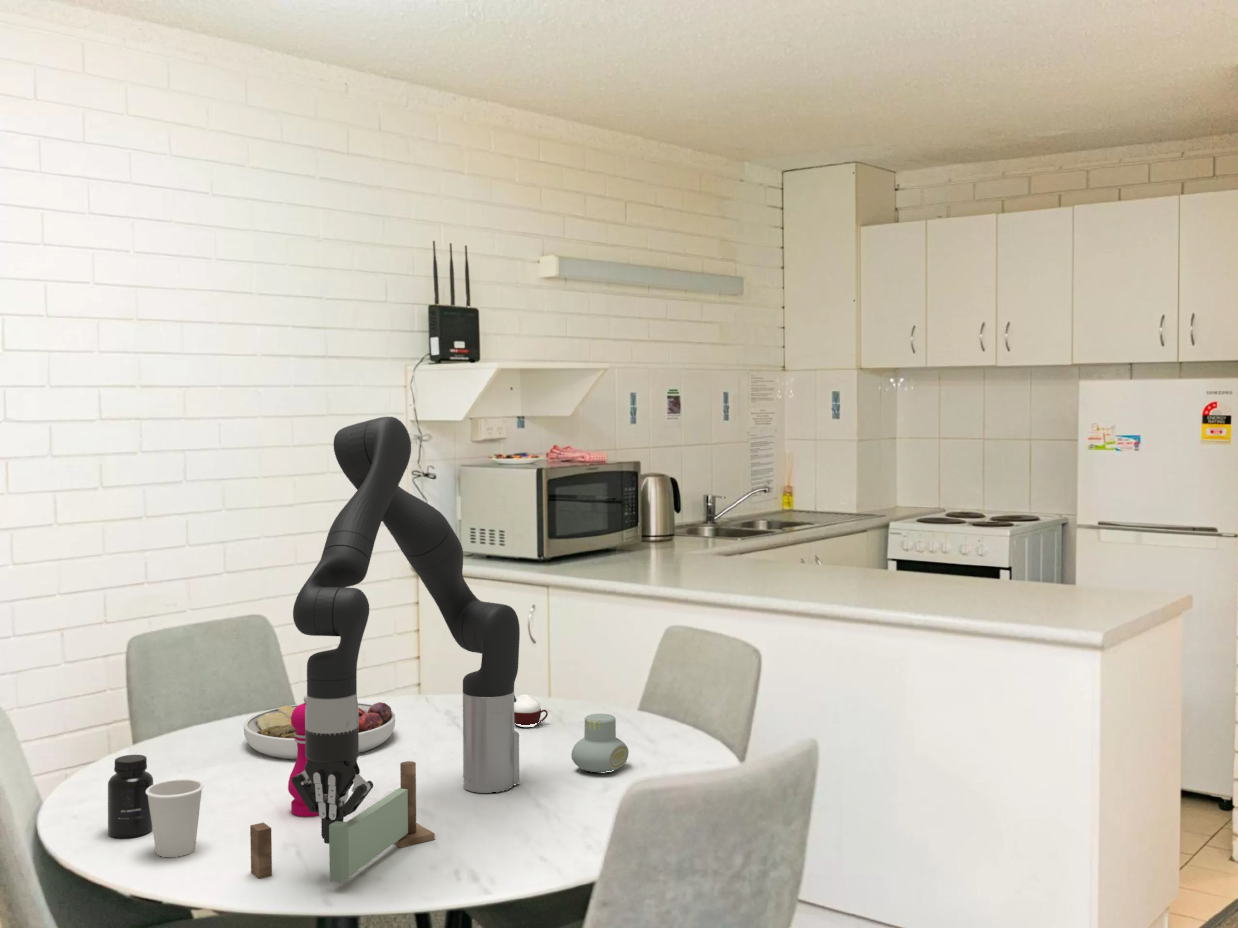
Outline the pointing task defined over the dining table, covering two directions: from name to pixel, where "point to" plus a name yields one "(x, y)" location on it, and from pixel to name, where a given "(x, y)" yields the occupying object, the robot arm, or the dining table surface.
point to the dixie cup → (175, 815)
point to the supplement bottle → (129, 798)
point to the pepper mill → (299, 760)
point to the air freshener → (600, 745)
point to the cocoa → (527, 710)
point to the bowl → (277, 732)
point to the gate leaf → (367, 834)
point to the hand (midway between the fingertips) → (332, 841)
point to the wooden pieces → (416, 834)
